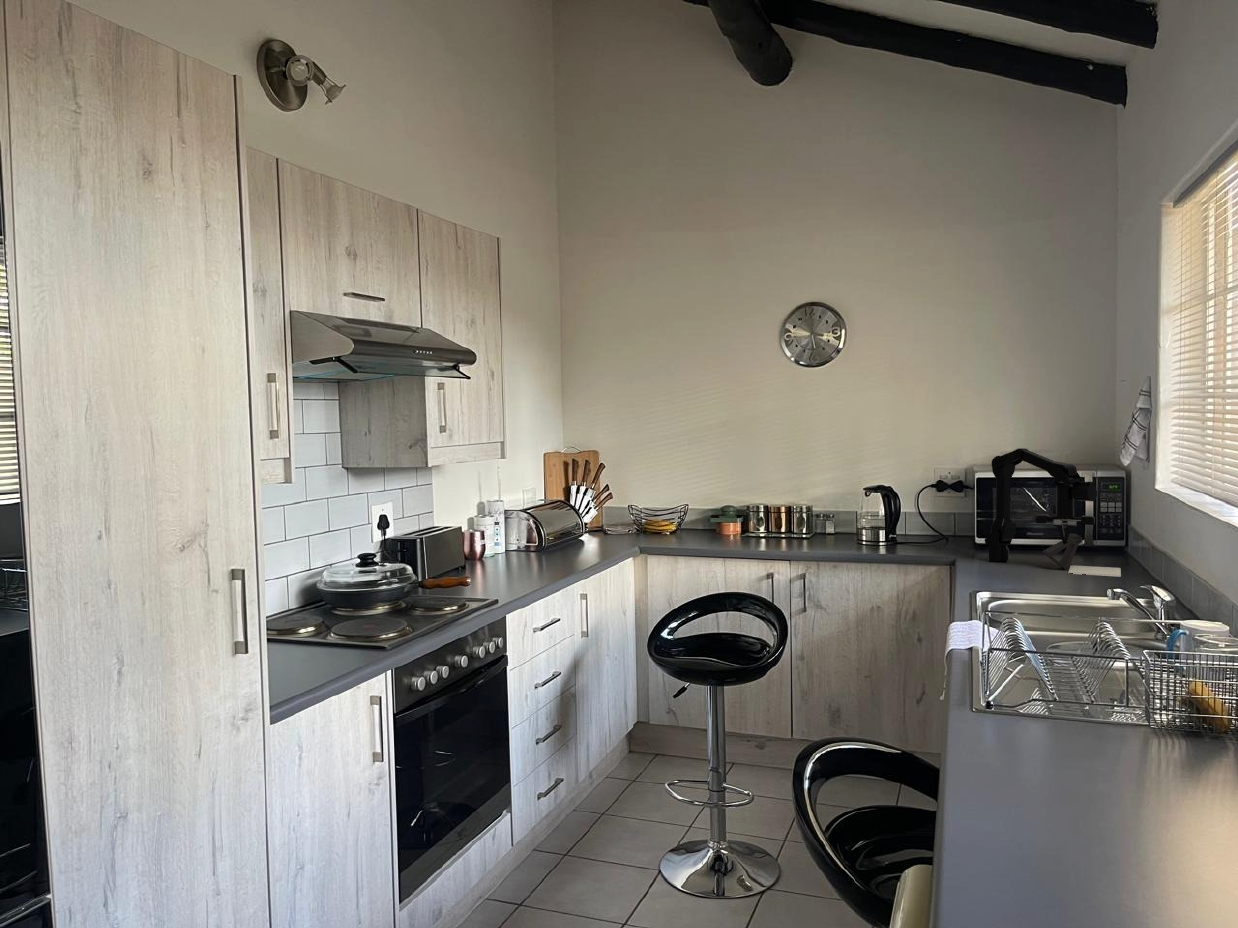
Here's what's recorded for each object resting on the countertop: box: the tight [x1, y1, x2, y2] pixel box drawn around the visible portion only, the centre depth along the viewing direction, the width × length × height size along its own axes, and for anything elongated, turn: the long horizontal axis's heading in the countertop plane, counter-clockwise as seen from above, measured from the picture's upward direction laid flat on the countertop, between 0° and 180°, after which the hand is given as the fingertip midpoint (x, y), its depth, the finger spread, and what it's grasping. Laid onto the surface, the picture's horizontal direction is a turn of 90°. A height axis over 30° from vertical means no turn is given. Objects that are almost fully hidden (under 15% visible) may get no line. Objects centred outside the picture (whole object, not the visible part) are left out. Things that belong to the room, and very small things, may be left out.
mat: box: [1068, 564, 1122, 578], centre depth 340 cm, size 16×18×1 cm
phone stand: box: [1042, 532, 1083, 571], centre depth 346 cm, size 9×6×12 cm
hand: (1064, 544), depth 344 cm, fingers closed
